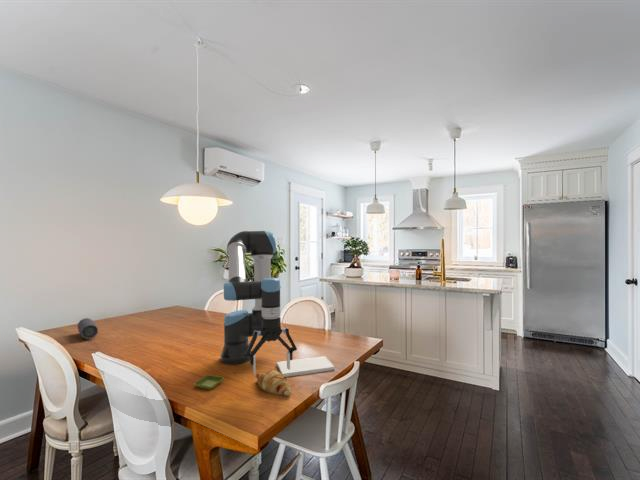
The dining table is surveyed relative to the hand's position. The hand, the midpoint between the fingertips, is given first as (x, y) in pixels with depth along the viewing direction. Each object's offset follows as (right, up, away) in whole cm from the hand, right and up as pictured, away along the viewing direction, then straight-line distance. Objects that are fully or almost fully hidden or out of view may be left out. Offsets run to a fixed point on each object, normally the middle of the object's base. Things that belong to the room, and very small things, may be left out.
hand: (271, 370), depth 126 cm
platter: (+12, -7, +21) cm, 25 cm away
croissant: (0, -8, +1) cm, 8 cm away
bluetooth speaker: (-127, -9, +73) cm, 147 cm away
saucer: (-27, -8, +5) cm, 28 cm away
